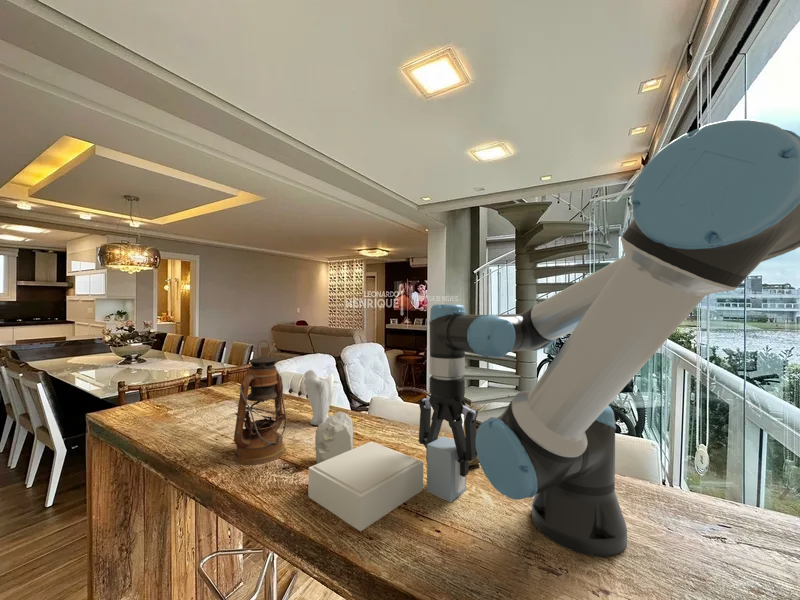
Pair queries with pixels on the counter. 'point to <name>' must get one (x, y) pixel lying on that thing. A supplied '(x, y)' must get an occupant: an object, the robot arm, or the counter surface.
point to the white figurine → (319, 395)
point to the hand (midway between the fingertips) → (446, 484)
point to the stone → (334, 437)
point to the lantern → (261, 435)
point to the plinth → (365, 483)
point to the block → (442, 468)
